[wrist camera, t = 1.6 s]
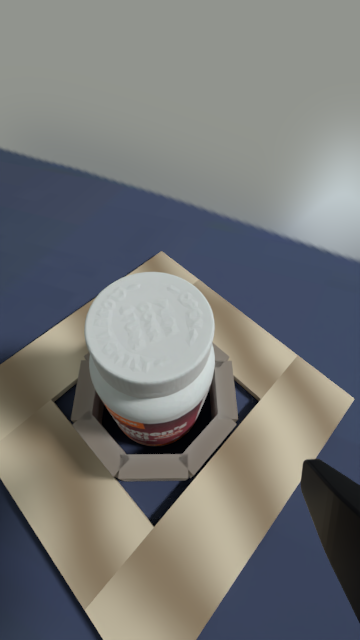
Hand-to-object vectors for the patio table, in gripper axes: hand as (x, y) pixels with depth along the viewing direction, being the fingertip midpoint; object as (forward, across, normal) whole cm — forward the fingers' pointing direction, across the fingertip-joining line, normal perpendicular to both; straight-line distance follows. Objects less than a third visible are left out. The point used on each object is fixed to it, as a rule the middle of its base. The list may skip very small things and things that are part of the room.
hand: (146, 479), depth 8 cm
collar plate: (+12, 0, +5) cm, 13 cm away
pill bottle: (+12, 0, +5) cm, 13 cm away
